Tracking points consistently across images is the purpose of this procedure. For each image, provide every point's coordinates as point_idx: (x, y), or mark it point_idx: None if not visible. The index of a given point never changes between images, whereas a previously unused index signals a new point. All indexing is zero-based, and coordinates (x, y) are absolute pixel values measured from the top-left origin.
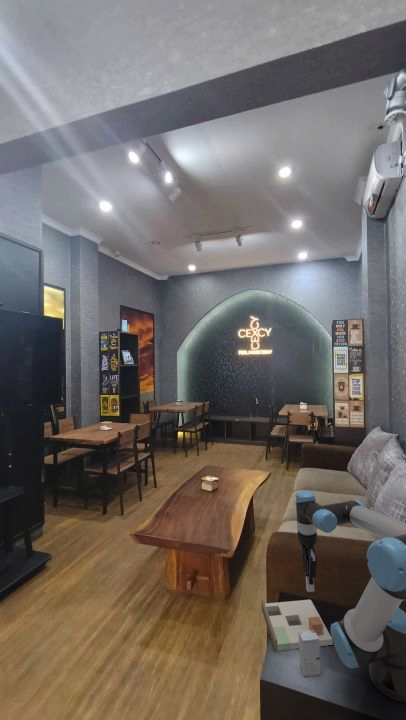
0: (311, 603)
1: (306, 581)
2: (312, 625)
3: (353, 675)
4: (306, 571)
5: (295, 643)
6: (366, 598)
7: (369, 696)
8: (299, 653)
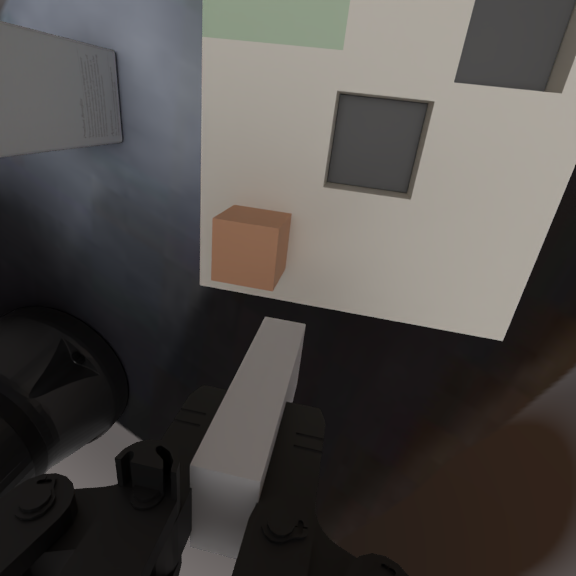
0: (468, 327)
1: (265, 384)
2: (213, 217)
3: (76, 266)
4: (248, 530)
5: (204, 73)
6: None
7: (4, 266)
8: (66, 38)
